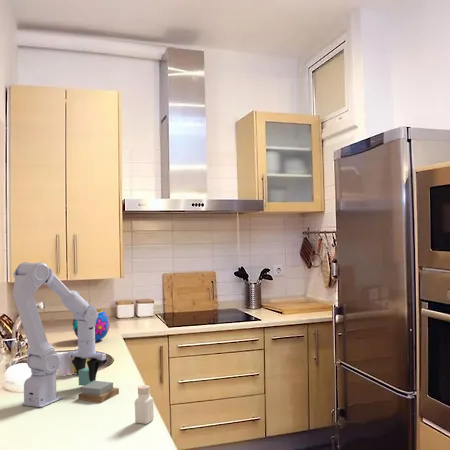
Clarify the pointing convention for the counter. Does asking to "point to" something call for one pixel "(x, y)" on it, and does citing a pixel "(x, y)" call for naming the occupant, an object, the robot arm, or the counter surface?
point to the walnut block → (99, 396)
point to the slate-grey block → (97, 388)
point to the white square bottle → (144, 405)
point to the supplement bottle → (74, 366)
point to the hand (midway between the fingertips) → (87, 379)
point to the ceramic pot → (97, 325)
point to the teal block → (84, 377)
